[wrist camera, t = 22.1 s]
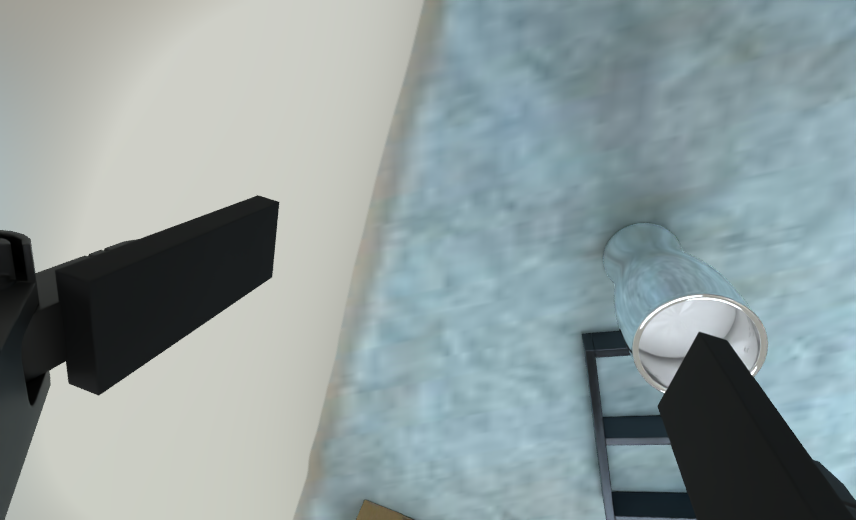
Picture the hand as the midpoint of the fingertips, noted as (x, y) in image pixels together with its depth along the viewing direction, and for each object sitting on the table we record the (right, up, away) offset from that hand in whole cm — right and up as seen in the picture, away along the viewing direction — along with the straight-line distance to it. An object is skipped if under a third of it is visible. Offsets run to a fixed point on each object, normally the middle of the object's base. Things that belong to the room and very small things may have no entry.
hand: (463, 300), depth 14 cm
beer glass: (+17, +2, +24) cm, 30 cm away
